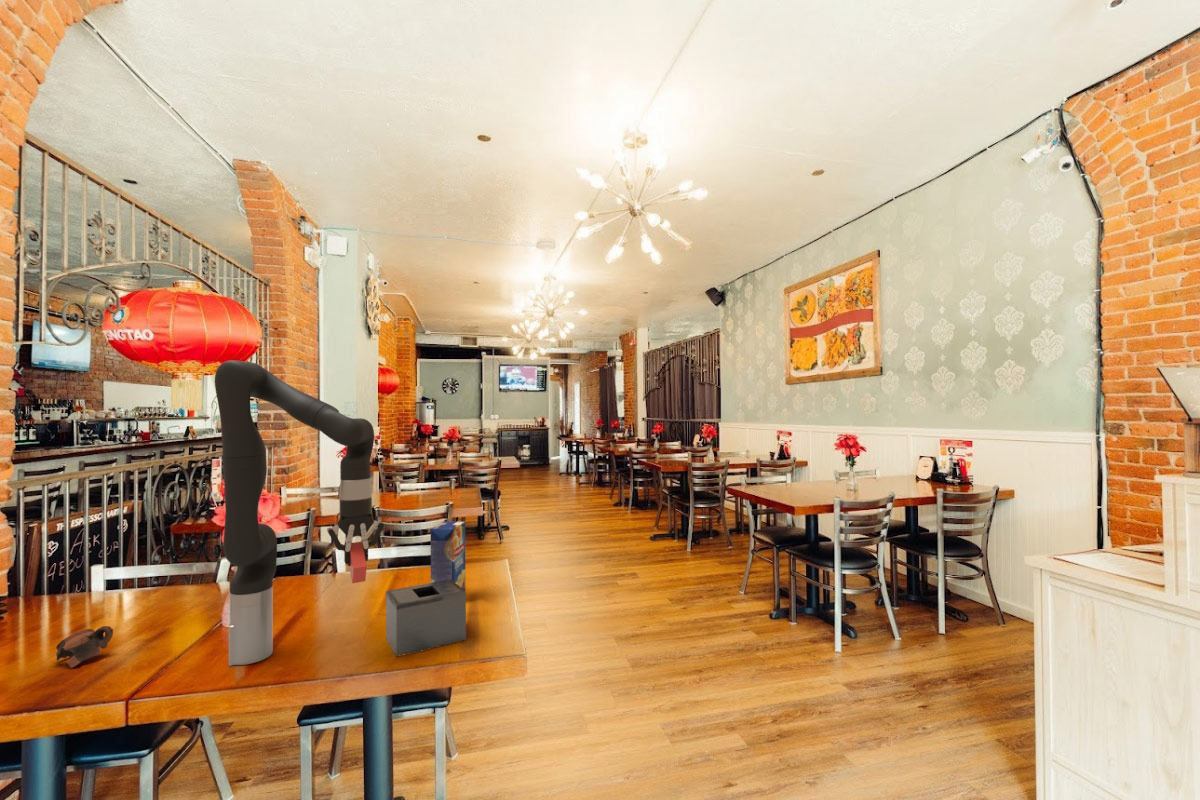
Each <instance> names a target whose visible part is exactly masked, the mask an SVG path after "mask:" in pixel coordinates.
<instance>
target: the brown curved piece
mask: <svg viewBox="0 0 1200 800" xmlns="http://www.w3.org/2000/svg"><path fill="white" fill-rule="evenodd" d="M113 634H114V629H113V628H112V627H111V626H109V625H108V626H107V625H103V626H100V627H99V628H97V629H96V630H95V629H92V628H85V629H81V630H79V631H76V632H74V633H72V634H71V635H69V636H67V637H65V638H64V639H62V640H61V641H60V642H58V643H57V645H56V646H55V648H56V649H55V650H56V654H55V655H56V661H57V662H58V661H60V660H61V659H66V658H68V657H69V658H70V659H68V660H67V661H66V664H67V665H68V666H69V667H70V668H71V669H73V667H74V668H75V667H76V666H78V665H80V664H81V663H82V662H84V661H86V660H87V661H88V660H89V659H91V658H93V657H94V658H95V657H97V656H100V655H101V651H100V648H101V649H103V650H104V649H106V648H107V647H108V645H109V644H108V643H109V642H110V641H111V640H112V637H113Z"/></svg>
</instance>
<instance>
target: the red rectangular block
mask: <svg viewBox="0 0 1200 800" xmlns="http://www.w3.org/2000/svg"><path fill="white" fill-rule="evenodd" d="M348 567H349V573H350V580H351V583H352V584H356V583H363V582H366V575H367V568H368V566H367V561H366V560H365V555H364V550H363V546H362V542H361V541H356V542H355V541H354V542H352V543H351V549H350V566H348Z"/></svg>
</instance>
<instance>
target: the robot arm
mask: <svg viewBox="0 0 1200 800" xmlns="http://www.w3.org/2000/svg"><path fill="white" fill-rule="evenodd" d="M214 388H215V394H216V399H217V404H218V411H219V418H220V429H221V430H220V431H221V443H222V444H221V445H222V455H221V456H222V470H223V471H222V472H223V473H222V474H223V482H224V483H223V485H224V502H225V503H224V506H225V507H224V508H225V513H224V514H225V515H224V518H225V519H224V530H223V531H224V532H223V542H222V543H223V554H224V557H225V559H226V560H227V562H229V563H230V564H231V565H233V566H234V567H237V569H236V571H235V573H234V576H233V577H232V579H230V582H229V624H228V626H229V627H228V666H229V667H230V666H231V667H232V666H245V665H251V664H254V663H259V662H261V661H264V660H265V659H267V658H269V657H270V656H271V655H273V652H274V651H273V650H274V649H273V647H274V642H273V641H274V640H273V639H274V637H273V634H274V633H273V632H274V629H273V628H274V626H273V623H274V622H273V621H274V617H273V616H274V612H273V610H274V609H273V608H274V607H273V606H274V604H273V603H274V601H273V599H274V598H273V593H274V592H273V591H274V587H273V585H274V584H273V583H274V577H275V575H276V573H277V572H276V571H277V557H278V555H277V554H278V538H277V535H276V533H275V531H274V529H273V528H272V527H271V526H269V525H268V524H266V523H260V522H259V503H260V500H261V495H262V493H263V489H264V486H265V483H266V480H267V479H266V478H267V472H268V471H267V469H268V466H267V465H268V464H267V452H266V450H267V449H266V446H265V442H264V440H263V439H262V436H261V434H260V432H259V430H258V428H257V427H256V424H255V423H254V420H253V417H252V409H251V398H255V399H258V400H262V401H264V402H265V401H266V402H268V403H271V404H273V405H275V406H277V407H278V408H281V409H282V411H284V412H285V413H287V414H288V415H289V416H290V417H292V418H293V419H295V420H297V421H298V422H299V423H302V424H303V425H306V426H308V427H311V428H313V429H314V430H317V431H319V432H321V433H323V434H324V435H325V436H326V437H328V438H329V439H331V440H332V441H334V442H335V443H337V444H339V445H342V446H345V447H346V453H345V455H344V456H343V457H342V459H341V461H340V464H339V465H340V466H339V467H340V469H339V471H340V472H339V473H340V475H339V476H340V478H339V479H340V483H339V493H338V497H339V519H338V522H337V523H336V524H335V525H334V526H332V527H331V526H330V527H328V528H327V529H326V531H327V533H328V535H329V536H330V538H331V540H332V542H333V544H334V545H335V547H336V549H337V550H338V551H343V554H344V555H343V556H344V557H343V559H344V560H343V561H344V563H345V565H347V566H348V567H349V566H350V549H351V543H353V539H354V538H356V537H360V542H362V546H363V550H364V555H365V560H366V562H367V561H369V549H370V548H371V547H372V546H376V545H377V542H378V541H379V537H380V536H381V533H382V531H383V530H384V527H385V524H384V523H383V522H382V521H378V520H375V519H374V516H373V492H372V480H371V479H372V478H371V458H372V454H373V447H374V443H375V431H374V427H373V425H372V423H371V422H370V421H369V420H367V419H365V418H362V417H361V418H360V417H359V418H352V417H349V416H346V415H345V414H342V413H340V411H339V409H337V408H336V407H335V406H333V405H331V404H329V403H327V402H324V401H323V400H321V399H318V398H316V397H314V396H313V395H309V394H308V393H305V392H304V391H302V390H299V389H297V388H295V387H294V386H291V385H290V384H288V383H287V382H285V381H283V380H282V379H280V378H279V377H277V376H276V375H275V374H273V373H272V372H270V371H269V370H267V369H266V368H265V367H263V366H261V365H259V364H258V363H255V362H251V361H243V360H234V359H233V360H232V359H231V360H230V359H229V360H226V361H224V362H223V363H221V364H219V366H218V367H217V369H216V371H215V375H214ZM372 526H373V533H372V535H371V537H370V538H369V540H368V534H367V533H368V532H369V530H370V529H371V527H372ZM339 529H340V531H341V532H342V533H343V534H345V535H344V536H345V537H344V544H342V543H341V542H340V540H339V538H338V536H337V535H338V534H339Z"/></svg>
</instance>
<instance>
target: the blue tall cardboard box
mask: <svg viewBox="0 0 1200 800" xmlns="http://www.w3.org/2000/svg"><path fill="white" fill-rule="evenodd" d="M445 580H453V581H454V582H455V583H456V584H457V585H458V586H459V587H461V588H462V589H463V590H464V591H465V592H466V521H451V520H450V521H442V522H441V523H439V524H437V525H435V526H433V527H431V528H430V583H434V582H439V581H445ZM466 593H467V592H466Z"/></svg>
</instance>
